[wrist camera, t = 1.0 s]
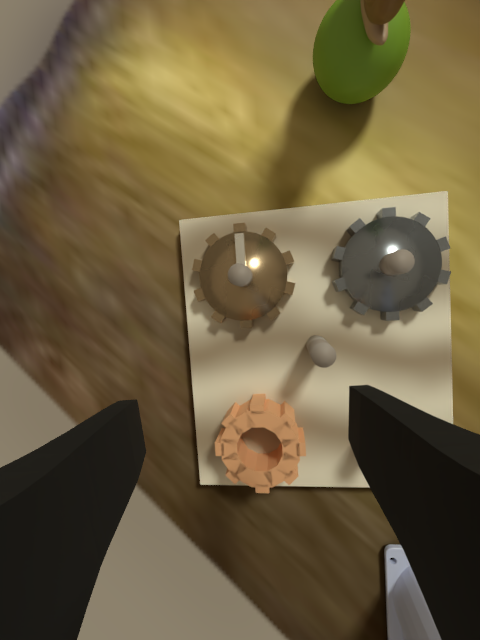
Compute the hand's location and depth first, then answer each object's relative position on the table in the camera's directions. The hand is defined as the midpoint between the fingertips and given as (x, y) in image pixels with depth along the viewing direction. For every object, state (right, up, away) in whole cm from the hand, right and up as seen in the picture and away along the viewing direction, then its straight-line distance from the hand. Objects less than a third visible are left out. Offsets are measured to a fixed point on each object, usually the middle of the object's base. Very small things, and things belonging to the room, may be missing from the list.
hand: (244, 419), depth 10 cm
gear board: (+5, +1, +13) cm, 14 cm away
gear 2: (+10, +7, +10) cm, 16 cm away
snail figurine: (+7, +20, +11) cm, 24 cm away
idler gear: (+1, -5, +12) cm, 13 cm away
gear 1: (0, +6, +12) cm, 13 cm away
